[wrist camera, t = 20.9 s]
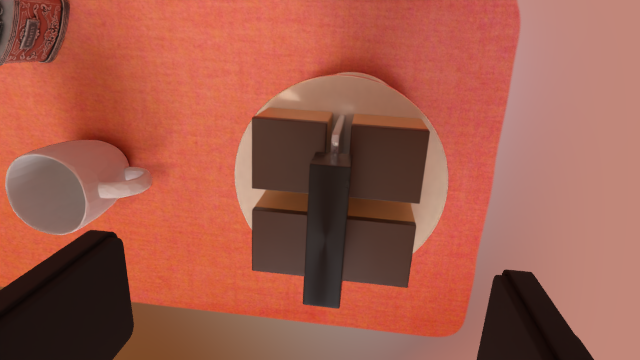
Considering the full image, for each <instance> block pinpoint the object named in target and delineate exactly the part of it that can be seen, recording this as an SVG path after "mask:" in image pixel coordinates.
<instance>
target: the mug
mask: <svg viewBox="0 0 640 360" xmlns="http://www.w3.org/2000/svg"><path fill="white" fill-rule="evenodd" d="M151 185H152V175H151V173H150V171H148V170H147V169H144V168H140V167H129V164H128V161H127V158H126V157H125V155H124V154H123V153H122V152H121V151H120V150H119V149H118V148H116V147H115V146H113V145H111V144H109V143H106V142H103V141H99V140H75V141H66V142H62V143H57V144H53V145H49V146H46V147H42V148H39V149H36V150H33V151H30V152H28V153H26V154H23V155H21V156H19V157H18V158H16V159H15V160H14V161H13V162H12V163H11V164H10V166H9V168H8V170H7V175H6V186H5V189H6V192H7V196H8V199H9V202H10V205H11V207H12V208H13V210H14V212H15V213H16V214H17V216H18V217H19V218H20V219H21V220H23V221H24V222H25V223H26V224H28V225H29V226H31V227H32V228H34V229H36V230H38V231H41V232H45V233H48V234H54V235H64V234H68V233H72V232H74V231H76V230H78V229H80V228H82V227H84V226H85V225H87V224H89V223H90V222H92V221H93V220H95V219H96V218H98V217H99V216H100V215H101V214H103V213H104V212H105V211H106V210H107V209H108V208H110V207H111V206H112V205H113V204H114V203H115V202H116V201H117V199H118V198H123V197H127V196H131V195H135V194H139V193H142V192H143V191H145V190H147V189H149V187H150V186H151Z"/></svg>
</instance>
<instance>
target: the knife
mask: <svg viewBox="0 0 640 360" xmlns="http://www.w3.org/2000/svg"><path fill="white" fill-rule="evenodd" d="M345 121H346V115H340V116H339V119H338V121H337V124H336V126H335V128H334V131H333V133H332V141H331V153H328V152H316V153H315V155H314V157H313V159H312V161H311V163H310V166H309V187H308V208H307V229H306V249H305V270H304V291H303V304H305V305H313V306H321V307H330V308H339V307H340V299H341V291H342V281H343V269H344V258H345V246H346V234H347V222H348V210H349V198H350V186H351V174H352V162H353V155H351V154H343V147H344V134H345Z"/></svg>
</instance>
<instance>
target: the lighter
mask: <svg viewBox="0 0 640 360" xmlns="http://www.w3.org/2000/svg"><path fill="white" fill-rule="evenodd" d="M68 17H69V2H68V0H0V66H1V65H3V64H7V63H22V62H40V63H48V62H52V61H53V60H54V59H55V57H56V55H57V53H58V52H59V50H60V48H61V45H62V42H63V40H64V37H65V34H66V29H67V24H68Z"/></svg>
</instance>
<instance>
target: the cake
mask: <svg viewBox="0 0 640 360" xmlns="http://www.w3.org/2000/svg"><path fill="white" fill-rule="evenodd" d="M332 117H333V113H332V112H324V111H310V110H297V109H283V108H267V109H265V110H264V111H262V112H261V113H259V114H258V115H256V116H254V117H253V118H252V188H253V189H263V190H266V191H265V192H264V194H263V195H262V197H261V198H260V199H259V201H258V202H257V204H256V205H255V207H254V208H253V209H252V270H253V271H262V272H271V273H280V274H289V275H298V276H304V270H305V249H306V229H307V208H308V187H309V166H310V163H311V161H312V159H313V157H314V155H315V153H316V152H328V153H330V149H331V133H332ZM429 136H430V131H429V130H428V128H427V126H426V125H425V123H424V122H423V120H422V119H419V118H406V117H392V116H379V115H365V114H354V117H353V122H352V126H351V138H350V150H349V154H351V155H353V162H352V174H351V186H350V198H349V210H348V222H347V234H346V246H345V258H344V269H343V281H351V282H360V283H369V284H378V285H387V286H396V287H405V288H407V287H408V281H409V274H410V267H411V261H412V254H413V247H414V240H415V233H416V223H415V219H414V215H413V211H412V207H411V203H415V204H420V198H421V192H422V185H423V178H424V171H425V164H426V157H427V150H428V143H429Z"/></svg>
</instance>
